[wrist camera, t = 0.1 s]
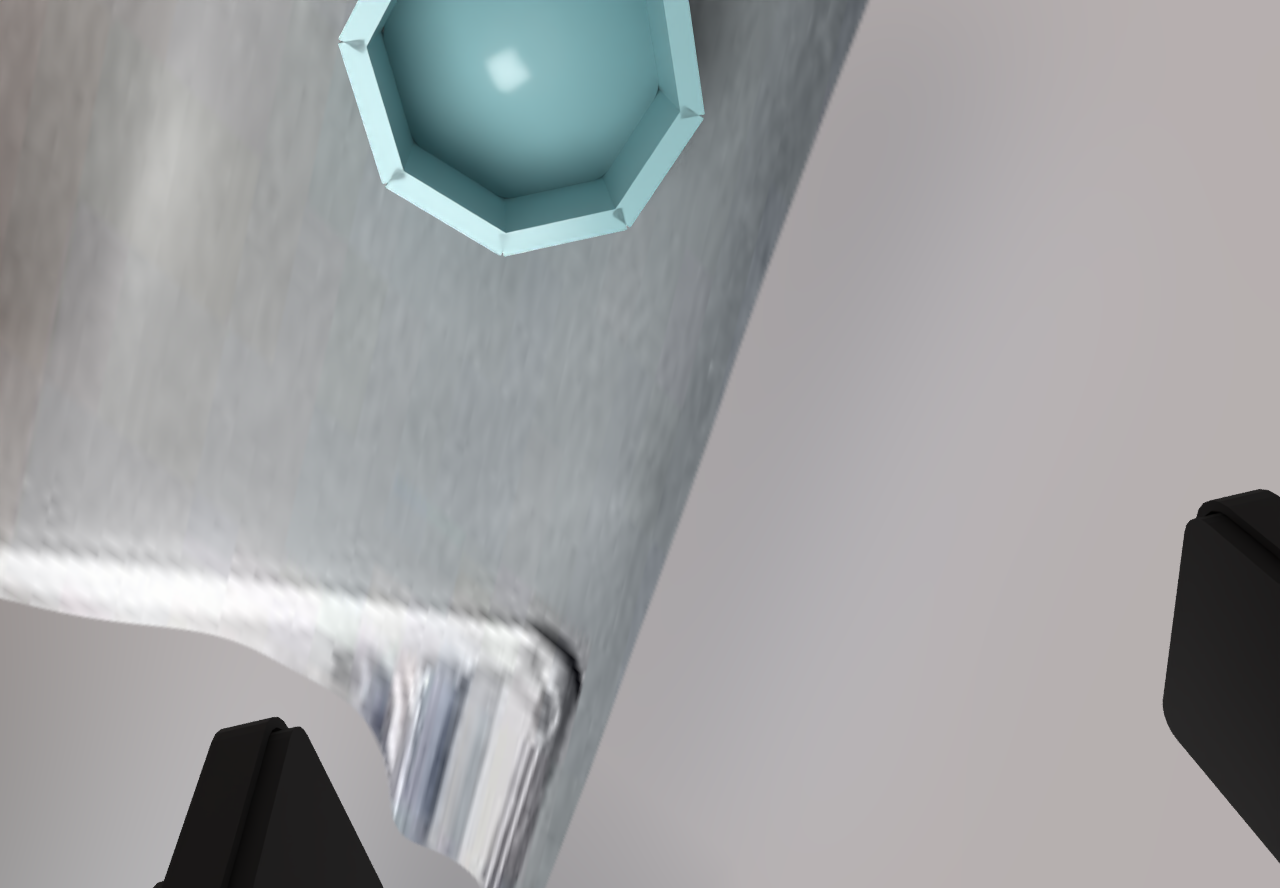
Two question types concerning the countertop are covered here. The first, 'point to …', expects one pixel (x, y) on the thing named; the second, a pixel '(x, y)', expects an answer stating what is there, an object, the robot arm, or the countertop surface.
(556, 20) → the bowl
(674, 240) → the countertop surface
